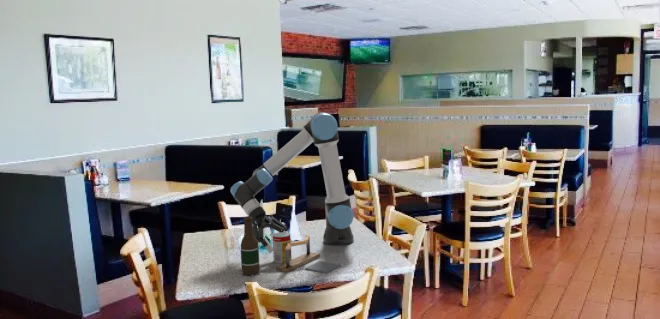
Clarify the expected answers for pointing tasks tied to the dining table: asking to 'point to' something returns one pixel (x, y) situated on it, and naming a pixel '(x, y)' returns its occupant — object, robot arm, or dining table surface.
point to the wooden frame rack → (299, 260)
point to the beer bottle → (249, 250)
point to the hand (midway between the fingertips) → (281, 247)
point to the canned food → (281, 246)
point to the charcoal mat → (323, 267)
